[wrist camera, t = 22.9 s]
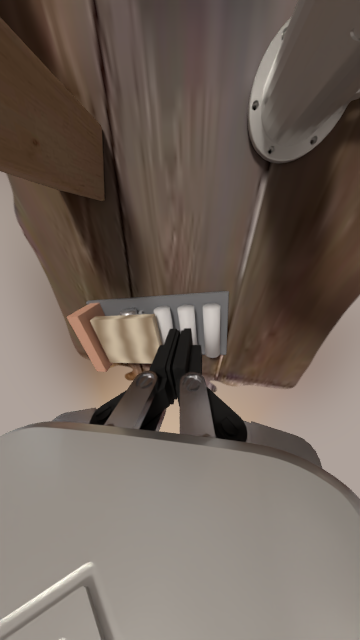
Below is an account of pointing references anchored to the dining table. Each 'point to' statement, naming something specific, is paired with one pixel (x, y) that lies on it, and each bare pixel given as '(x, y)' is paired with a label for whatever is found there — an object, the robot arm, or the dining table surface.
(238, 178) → the dining table surface
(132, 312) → the roller
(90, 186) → the wooden block
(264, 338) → the dining table surface
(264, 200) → the dining table surface
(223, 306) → the roller bed
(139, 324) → the slab
